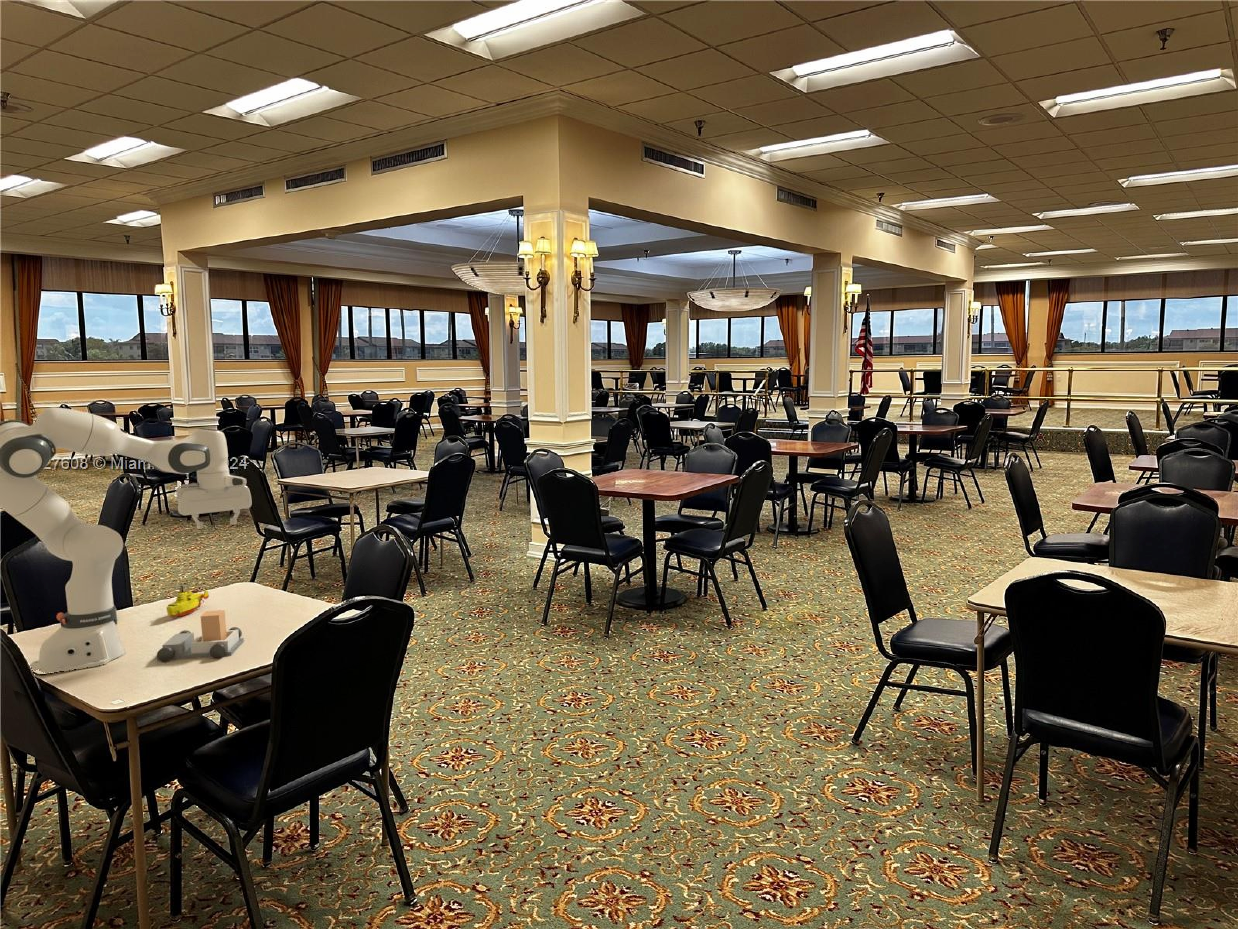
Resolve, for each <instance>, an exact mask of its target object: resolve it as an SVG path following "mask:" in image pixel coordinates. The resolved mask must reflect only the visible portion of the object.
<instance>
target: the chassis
mask: <svg viewBox="0 0 1238 929" xmlns="http://www.w3.org/2000/svg"><path fill="white" fill-rule="evenodd" d="M226 632H227V638H226V639H225V640H218V641H203V638H202V632H201V633H200V634H199V635H198V636H197V637H195V634H194V632H191V631H189V630H185V629H183V630H182V631H180V632H179V633H176V634H174V635H173V636H171V637H170V638H169V639H168V640H167V641H166V642H164V643H163V644H162V648H160V649H159V650H158V651H157V652H156V656H155V658H156V661H160V662H161V663H168V662H170V661H171V660H172V661H173V660H181V659H182V660H184V659H185V658H186V659H196V658H195V657H200V658H214V659H217V660H218V659H221V658H223V657H226V656H232V655H233V654H234V653H235V652H236V651H237V650H238V649H239V647H240V646H241V645H242V644H243V643H244V641H245V640H244V637H243V638H242V635H243V632H242V630H241V628H239V627H237V626H236V627H235V626H233V627H230V628H229V629H226ZM186 659H185V660H186Z"/></svg>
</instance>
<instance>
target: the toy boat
mask: <svg viewBox="0 0 1238 929" xmlns="http://www.w3.org/2000/svg"><path fill="white" fill-rule="evenodd" d="M184 588H186V589H188V591H184ZM192 590H193V591H195V592H196V593H193V592H192ZM197 592H198V593H197ZM209 597H210V595H209V591H208V589H207V590H204V592H203V593H201V591H199V590H196V589H193V588H191V587H190V588H189V587H186V586H183V585H180V588H179V592H178V593H177V595H176V600H175V601H174V602H172V603H169V604H168V605H167V606H166V613H167V615H168V616H170V617H182V616H183V617H184V616H187V615H190V614H192V613H193V612H194V611H196V610H197V608H198V607H199V606H201V607H202V604H204V602H205V601H204V600H207V599H209Z"/></svg>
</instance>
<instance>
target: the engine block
mask: <svg viewBox="0 0 1238 929" xmlns="http://www.w3.org/2000/svg"><path fill="white" fill-rule="evenodd" d="M200 624H201V625H200V626H201V633H202V638H203V641H218V640H225V639H226V638H227V632H226V631H227V622H226V612H225V609H223V610H221V609H220V610H206V611H205V612H204V613H203V614H202V615H200Z"/></svg>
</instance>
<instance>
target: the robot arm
mask: <svg viewBox="0 0 1238 929" xmlns="http://www.w3.org/2000/svg"><path fill="white" fill-rule="evenodd" d="M57 450H64V451H65V450H66V451H70V452H75V453H79V454H84V455H88V456H89V455H90V456H97V457H108V456H111V455H121V456H124V457H129V458H132V459H136V460H141V461H143V462H146V463H148V464H149V465H150V466H152V467H153V468H154V469H155V470H157V471H160V472H161V473H173V474H180V475H186V474H190V473H194V472H196V480H197V482H192V483H183V484H181V485H179V486H178V487H177V488H176V494H175V495H176V498H177V500H178V501H177V511H178V514H180V515H182V516H191V518H192V519H193V520H194V522H195V523H196V529H197V530H201V529H204V527H205V526H204V522H202V521H200V520H199V519H198V518H199V516H200V514H202V515H203V514H209V513H218V512H226V511H228V512H229V511H233V512H232V513H234V514H233V517H231V518H229V522H230V525H237V523H238V520H237V519H238V517H239V515H240V514H241V510H243V509H250V508H251V507H252V503H253V502H252V494H251V491H250V488H249V487H248V486H247V478H244V477H243V476H237V475H235V474H230V468H229V466H228V460H229V458H228V457H229V453H228V445H227V438H226V436H225V433H224V432H223V431H221V430H220V429H216V428H215V429H214V428H206V427H205V428H204V427H198V428H197V429H195V431H193V432H192V433H191V434H189V435H188V436H186V437H183V438H182V439H179V440H176V439H175V440H174V439H171V438H170V439H169V438H167V439H159V440H158V439H157V440H153V439H152V440H150V439H147V438H143V437H139V436H136V435H132V434H128V433H126V432H124V431H122V430H121V427H120V426H119V425H118V424H117V423H116V422H115V421H112V420H110V419H108V418H106V417H102V416H101V415H97V414H94V413H90V412H85V411H83V410H82V411H81V410H77V409H72V408H71V409H70V408H65V407H63V408H62V407H54V406H53V407H52V406H51V407H48V408H46V409H44V410H42V411H41V412H40V413H39V414H38V415H37V418H36V419H35V422H34V423H33V424H30V423H27V422H25V421H22V420H19V419H6V420H3V421H0V508H1V509H3V510H4V511H5V512H6V513H8V514H9V515H10V516H11V517H13V518H14V519H15V520H16V521H18V522H19V523H20V524H22V525H23V526H25V528H27V529H29V530H30V531H31V532H32V533H33V534H34V535H35V536H37V538H39V540H40V541H41V542H42V543H43V544H44V546H45V548H46V550H47V551H48V552H49V553H50V554H52V555H53V556H55V557H57V558H59V559H61V560H64V561H70V562H72V570H71V575H70V578H69V580H68V581H67V583H66V584H65V587H64V588H65V589H64V590H65V598H66V606H67V612H65V613H64V612H58V613H57V614H56V619H57V620H58V621H59V622H60V623H59V624H60V627H59V628H58V629H57V630H56V631H55V632H54V633H52V634H51V635H50V636H48V638H46V639H45V640H44V641H43V642H42V644H41V646H40V649H39V656H38V658H37V659H35V660H33V661H32V662H31V663H30V668H31V667H32V669H33V670H34V671H36V670H38V669H39V671H41V672H43V673H44V672H45V673H49V672H50V673H51V672H57V671H64V672H69V670H70V671H75V670H74V669H76V670H81V669H87V667H88V668H93V667H99V665H100V666H103V664H104V665H106V664H108V663H109V662H111V661H112V660H115V659H117V658H119V657H121V656H122V655H124V654H125V653H126V650H125V648H124V645H123V643H122V640H121V638H120V637H121V636H120V635H119V631H118V613H117V611H118V610H117V608H116V605H115V604H114V597H113V596H114V594H113V583H112V582H113V581H112V579H113V578H112V577H113V572H114V571H113V570H114V567H115V562H116V559H118V557H119V556H120V555H121V553H122V552H123V549H124V541H123V538H122V536H121V535H120V533H119V532H118V531H116V530H115V529H112V528H110V527H108V526H106V525H101V524H94V523H88V522H86V521H84V520H81V519H80V518H79V517H77V515H75V513H74V511H73V510H72V509H71V507H70V503H69V502H68V501H67V500H65V499H64V498H63V497H62V496H61V495H60V494H58V493H57V492H56V491H54V490H53V489H52V488H50V486H48V485H47V484H45V483H44V482H43V481H42V480H41V479H39V478H38V477H37V475H39V474H40V473H42V472H43V471H44V470H45V468H46V467H47V466H48V464H49V462H50V461H51V460H52V458H54V456H55V455H56V453H57Z"/></svg>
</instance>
